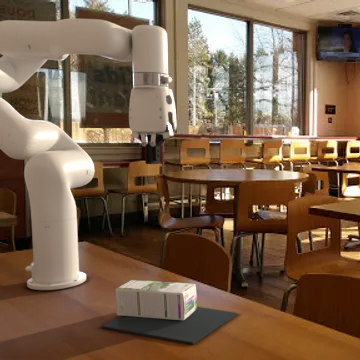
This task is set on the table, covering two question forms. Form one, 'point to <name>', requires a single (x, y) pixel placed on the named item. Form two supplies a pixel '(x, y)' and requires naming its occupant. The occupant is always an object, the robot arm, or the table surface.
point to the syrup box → (156, 299)
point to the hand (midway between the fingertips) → (152, 163)
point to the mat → (174, 325)
